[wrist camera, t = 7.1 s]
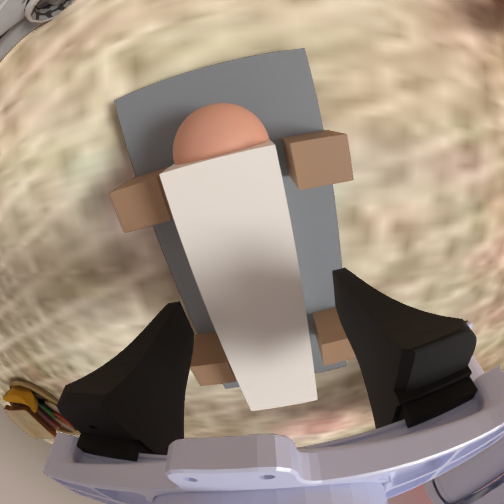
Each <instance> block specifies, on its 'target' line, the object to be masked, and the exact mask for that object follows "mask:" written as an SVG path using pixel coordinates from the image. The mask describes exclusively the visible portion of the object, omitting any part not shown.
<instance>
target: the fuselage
mask: <svg viewBox="0 0 504 504" xmlns="http://www.w3.org/2000/svg"><path fill="white" fill-rule="evenodd" d="M173 159H174V164H173V165H172V166H170V167H169V168H167V169H166V170H164V171H163V172H162V173H160V174H159V175H160V178H161V182H162V185H163V188H164V191H165V194H166V197H167V200H168V203H169V206H170V209H171V212H172V215H173V218H174V221H175V224H176V227H177V230H178V233H179V236H180V239H181V242H182V244H183V247H184V250H185V253H186V256H187V258H188V261H189V264H190V267H191V269H192V272H193V275H194V277H195V280H196V283H197V285H198V288H199V290H200V293H201V296H202V298H203V301H204V303H205V306H206V308H207V311H208V313H209V316H210V318H211V321H212V323H213V326H214V328H215V330H216V333H217V335H218V338H219V340H220V342H221V345H222V347H223V349H224V352H225V354H226V356H227V359H228V361H229V363H230V366H231V368H232V370H233V372H234V375H235V377H236V379H237V381H238V383H239V386H240V388H241V390H242V392H243V394H244V397H245V399H246V401H247V403H248V405H249V407H250V409H251V411H257V410H264V409H271V408H277V407H283V406H289V405H295V404H300V403H305V402H310V401H315V400H318V399H317V390H316V382H315V373H314V365H313V358H312V350H311V343H310V336H309V329H308V322H307V315H306V308H305V302H304V295H303V289H302V283H301V277H300V271H299V265H298V259H297V253H296V247H295V242H294V236H293V231H292V225H291V220H290V215H289V210H288V204H287V199H286V194H285V189H284V184H283V179H282V174H281V170H280V165H279V160H278V156H277V151H276V146H275V144H274V143H273V142H272V141H271V140H270V139H269V137H268V133H267V131H266V129H265V127H264V125H263V124H262V122H261V121H260V120H259V119H258V117H256V116H255V115H254V114H253V113H252V112H250V111H249V110H247V109H245V108H243V107H241V106H238V105H235V104H230V103H215V104H210V105H207V106H204V107H202V108H199V109H197V110H196V111H194V112H193V113H191V114H190V115H189V116H188V117H187V118H186V119H185V120H184V121H183V123H182V124H181V126H180V127H179V129H178V131H177V133H176V136H175V139H174V143H173Z"/></svg>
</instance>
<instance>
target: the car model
mask: <svg viewBox="0 0 504 504" xmlns="http://www.w3.org/2000/svg"><path fill="white" fill-rule="evenodd" d="M75 1H76V0H0V61H1V60H2V59H3V58H4V57H5V56H6V55H7V53H8V52H9V51H10V50H11V49H12V48H13V47H14V46H15V45H16V44H17V43H18V42H19V41H20V40H21V39H22V38H24V37H25V36H26V35H27V34H29V33H30V32H31V31H33V30H34V29H35V28H37V27H38V26H40V25H42V24H43V23H45V22H47V21H50V20H51V19H53V18H55V17H56V16H57V15H58V14H59V13H60V12H61V11H62V10H64V9H65V8H67V7H68V6H69V5H71V4H73V3H74V2H75Z"/></svg>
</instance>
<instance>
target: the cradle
mask: <svg viewBox="0 0 504 504" xmlns="http://www.w3.org/2000/svg"><path fill="white" fill-rule="evenodd" d="M114 102H115V106H116V110H117V114H118V118H119V121H120V125H121V129H122V132H123V136H124V139H125V143H126V146H127V150H128V153H129V156H130V159H131V163H132V166H133V169H134V172H135V175H136V177H135V178H132V179H131V180H129V181H128V182H126V183H124V184H123V185H121V186H120V187H118V188H117V189H115V190H114V191H112V192H111V193H109V194H110V197H111V199H112V202H113V205H114V208H115V210H116V213H117V216H118V218H119V221H120V223H121V226H122V229H123V231H124V233H128V232H131V231H135V230H138V229H142V228H145V227H149V226H152V225H153V227H154V230H155V233H156V235H157V238H158V241H159V243H160V246H161V249H162V251H163V254H164V256H165V259H166V261H167V264H168V266H169V269H170V271H171V274H172V276H173V278H174V281H175V283H176V286H177V288H178V290H179V293H180V295H181V297H182V300H183V302H184V304H185V306H186V309H187V311H188V313H189V315H190V318H191V320H192V322H193V324H194V326H195V328H196V331H197V333H198V334H195V339H194V345H193V354H192V359H191V365H190V369H191V371H192V373H193V374H194V376H195V378H196V379H197V381H198V383H199V384H200V386H204V385H214V384H223V385H224V387H225V389H227V388H235V387H240V386H239V383H238V381H237V379H236V377H235V375H234V372H233V370H232V368H231V366H230V363H229V361H228V359H227V356H226V354H225V352H224V349H223V347H222V345H221V342H220V340H219V338H218V335H217V333H216V330H215V328H214V326H213V323H212V321H211V318H210V316H209V313H208V311H207V308H206V306H205V303H204V301H203V298H202V296H201V293H200V290H199V288H198V285H197V283H196V280H195V277H194V275H193V272H192V269H191V267H190V264H189V261H188V258H187V256H186V253H185V250H184V247H183V244H182V242H181V239H180V236H179V233H178V230H177V227H176V224H175V221H174V218H173V215H172V212H171V209H170V206H169V203H168V200H167V197H166V194H165V191H164V188H163V185H162V182H161V178H160V175H159V174H160V173H162V172H163V171H164V170H166V169H167V168H169V167H170V166H172V165H173V164H174V159H173V143H174V139H175V136H176V133H177V131H178V129H179V127H180V126H181V124H182V123H183V121H184V120H185V119H186V118H187V117H188V116H189V115H190V114H191V113H193V112H194V111H196V110H197V109H199V108H202V107H204V106H207V105H210V104H215V103H230V104H235V105H238V106H241V107H243V108H245V109H247V110H249V111H250V112H252V113H253V114H254V115H255V116H256V117H258V119H259V120H260V121H261V122H262V124H263V125H264V127H265V129H266V131H267V133H268V137H269V139H270V140H271V141H272V142H273V143H274V144H275V146H276V151H277V156H278V160H279V165H280V170H281V174H282V179H283V184H284V189H285V194H286V199H287V204H288V210H289V215H290V220H291V225H292V231H293V236H294V242H295V247H296V253H297V259H298V265H299V271H300V277H301V283H302V289H303V295H304V302H305V308H306V315H307V322H308V329H309V336H310V343H311V350H312V358H313V365H314V373H315V374H316V373H320V372H324V371H329V370H333V369H337V368H341V367H345V366H346V360H350V359H353V358H356V356H355V353H354V351H353V349H352V347H351V345H350V342H349V340H348V338H347V336H346V334H345V332H344V329H343V327H342V325H341V322H340V319H339V316H338V313H337V310H336V307H335V296H334V285H333V274H332V271H333V270H337V269H341V268H342V260H341V249H340V239H339V230H338V221H337V213H336V205H335V197H334V190H333V184H335V183H340V182H346V181H351V180H353V172H352V165H351V158H350V151H349V145H348V138H347V134H344V133H339V132H334V131H329V130H325V131H324V130H323V125H322V120H321V115H320V110H319V106H318V101H317V96H316V92H315V88H314V83H313V79H312V75H311V71H310V67H309V63H308V59H307V56H306V52H305V48H301V49H293V50H285V51H279V52H272V53H266V54H261V55H255V56H250V57H245V58H241V59H236V60H232V61H227V62H223V63H219V64H215V65H211V66H208V67H204V68H201V69H197V70H194V71H190V72H187V73H184V74H181V75H178V76H175V77H172V78H169V79H166V80H163V81H160V82H157V83H155V84H152V85H149V86H147V87H144V88H142V89H139V90H137V91H134V92H132V93H129V94H127V95H125V96H122V97H120V98H118V99H116V100H114Z"/></svg>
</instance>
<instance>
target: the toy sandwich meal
mask: <svg viewBox="0 0 504 504" xmlns="http://www.w3.org/2000/svg"><path fill="white" fill-rule="evenodd" d="M3 399H4V400H5V401H7V402H10V404H11V406H9V405H6V406H5V408H4V410H5V412H6V414H7V415H8V416H9V417H10V419H11V420H12V421H13V422H14V423H15V424H16V425H17V426H18V427H19V428H21V429H22V430H23V431H24V432H25V433H27V434H28V435H30V436H31V437H33V438H35V439H37V438H44V439H55V437H56V434H57V433H56V430H57V431H60V432H63V433H66V434H70V435H78V434H80V432H79V431H78V430H77V429H75V428H74V427H73V426H72V425H71V424H70V423H69V422H68V421H67V420H66V419H65V418H64V417H63V416H62V415H61V414H60V412H59V411H58V408H57V403H58V401H59V400H58V399H56V398H55V397H54V396H52V395H51V394H49V393H48V392H46V391H45V390H43V389H41V388H39V387H38V386H36V385H34V384H31V383H29V382H26V381H12V382H11V383H10V390H9V391H8V392H7V393H6V394H5V395H4V396H3Z"/></svg>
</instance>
